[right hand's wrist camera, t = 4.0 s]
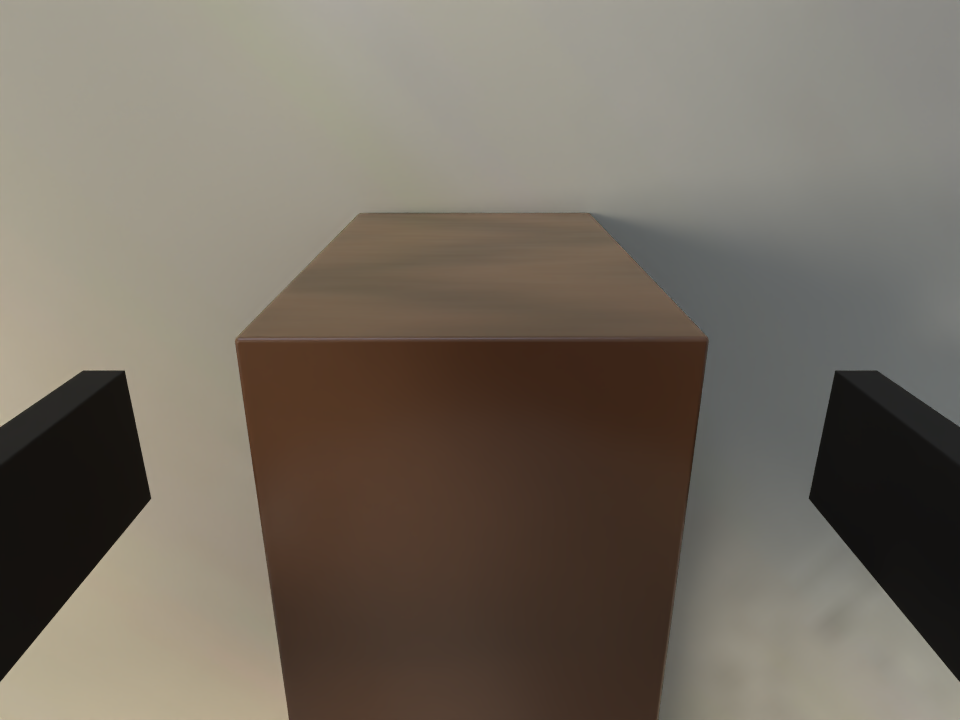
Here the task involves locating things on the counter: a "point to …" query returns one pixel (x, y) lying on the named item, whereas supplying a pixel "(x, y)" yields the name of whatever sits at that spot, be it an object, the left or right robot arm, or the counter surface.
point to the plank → (472, 470)
